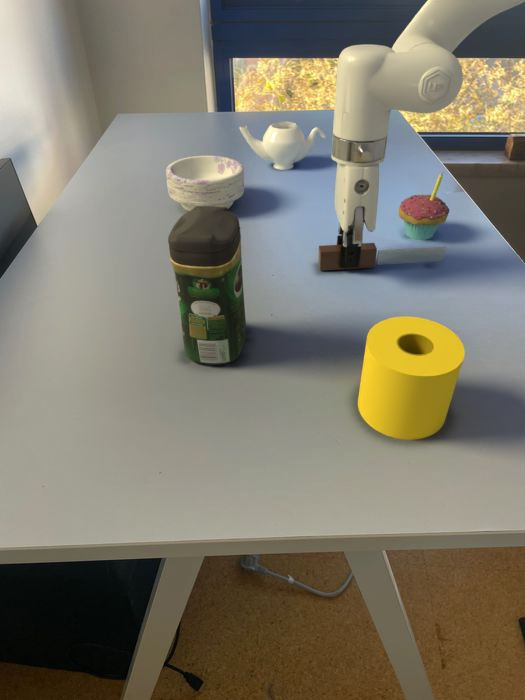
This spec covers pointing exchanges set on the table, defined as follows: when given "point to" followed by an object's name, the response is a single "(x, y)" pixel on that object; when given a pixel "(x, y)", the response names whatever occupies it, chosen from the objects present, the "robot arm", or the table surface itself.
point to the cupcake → (423, 214)
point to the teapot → (282, 143)
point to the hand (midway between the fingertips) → (347, 261)
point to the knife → (379, 256)
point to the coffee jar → (209, 283)
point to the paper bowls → (205, 181)
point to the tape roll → (409, 376)
